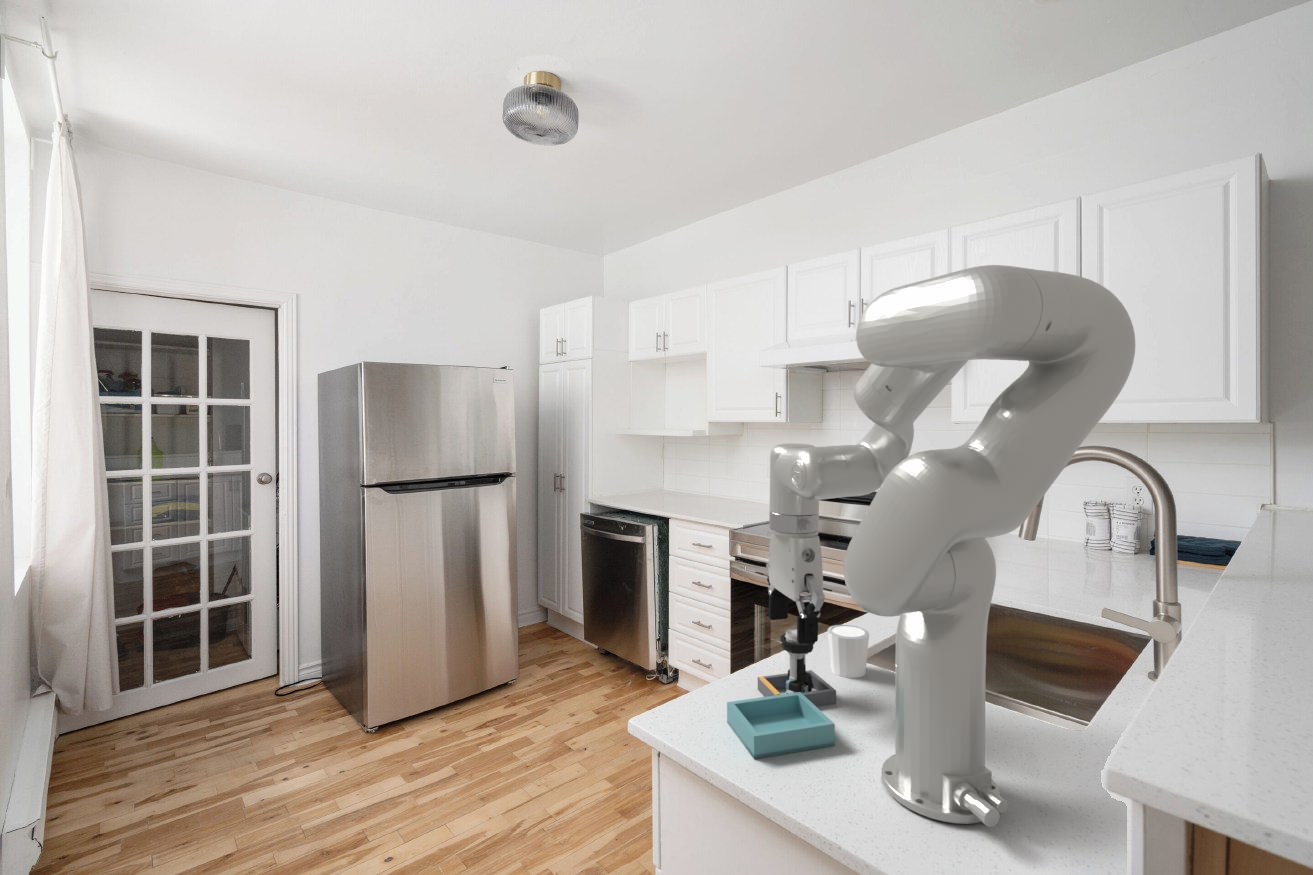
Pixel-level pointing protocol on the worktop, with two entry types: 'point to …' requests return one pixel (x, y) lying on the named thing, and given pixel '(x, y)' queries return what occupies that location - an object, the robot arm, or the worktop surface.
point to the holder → (819, 697)
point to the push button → (797, 663)
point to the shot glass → (848, 650)
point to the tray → (780, 725)
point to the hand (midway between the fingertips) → (792, 629)
